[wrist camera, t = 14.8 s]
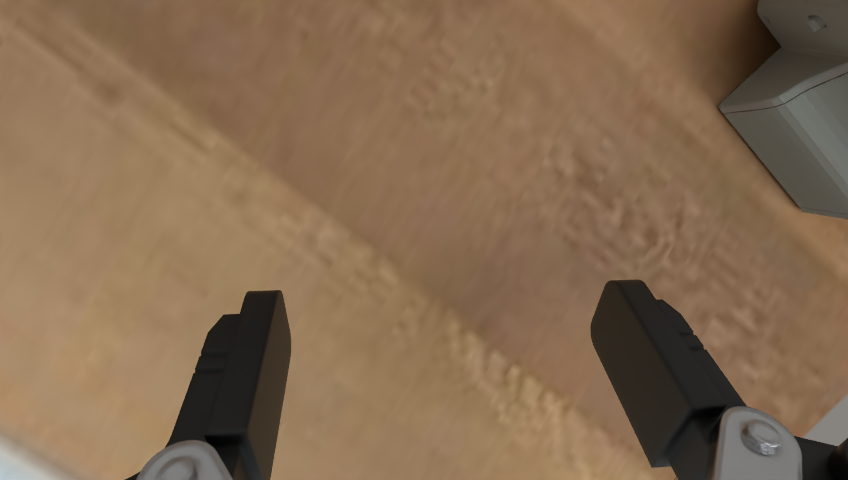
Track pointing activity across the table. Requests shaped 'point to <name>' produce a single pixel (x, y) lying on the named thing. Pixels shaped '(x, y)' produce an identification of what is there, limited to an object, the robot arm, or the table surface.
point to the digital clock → (800, 103)
